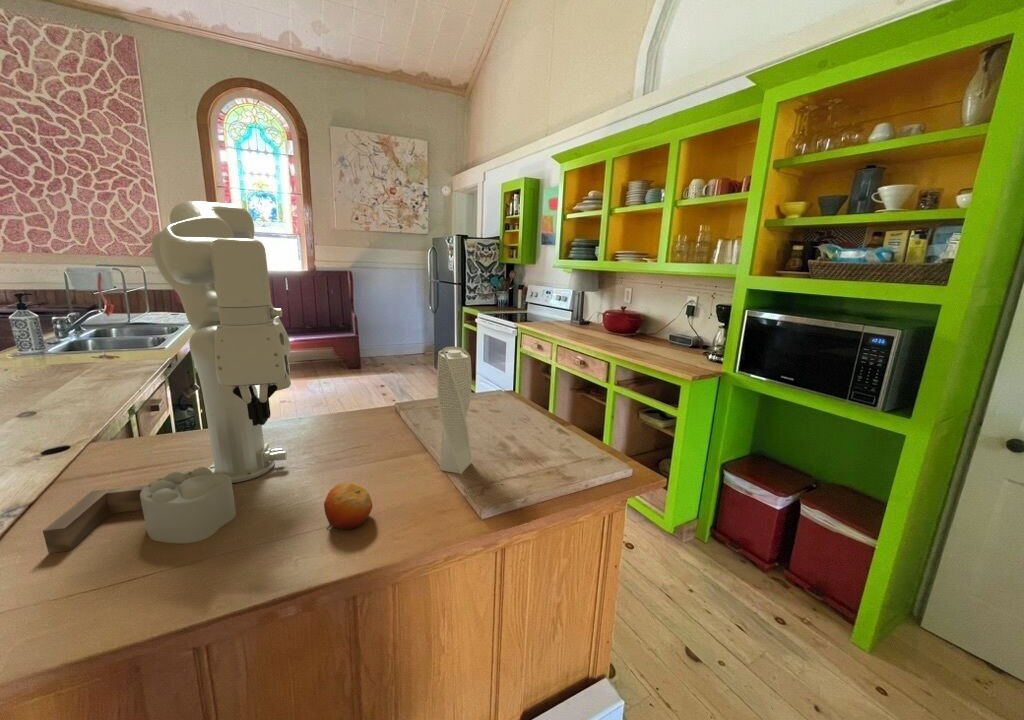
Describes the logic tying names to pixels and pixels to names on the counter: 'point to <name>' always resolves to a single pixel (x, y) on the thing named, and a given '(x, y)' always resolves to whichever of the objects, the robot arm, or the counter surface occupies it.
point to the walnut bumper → (89, 516)
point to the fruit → (347, 506)
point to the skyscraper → (454, 407)
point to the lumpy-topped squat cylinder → (187, 505)
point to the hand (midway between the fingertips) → (260, 422)
